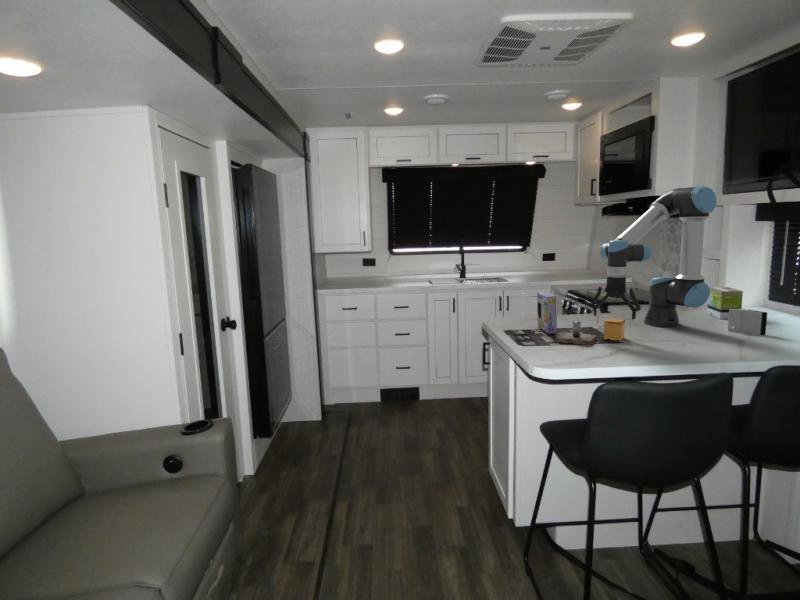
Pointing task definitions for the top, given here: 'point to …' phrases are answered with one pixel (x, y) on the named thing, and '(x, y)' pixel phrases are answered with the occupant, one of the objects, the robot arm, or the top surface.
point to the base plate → (576, 338)
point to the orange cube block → (614, 329)
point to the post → (576, 328)
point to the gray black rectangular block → (747, 321)
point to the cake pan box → (547, 312)
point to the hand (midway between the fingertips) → (613, 324)
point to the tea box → (723, 301)
